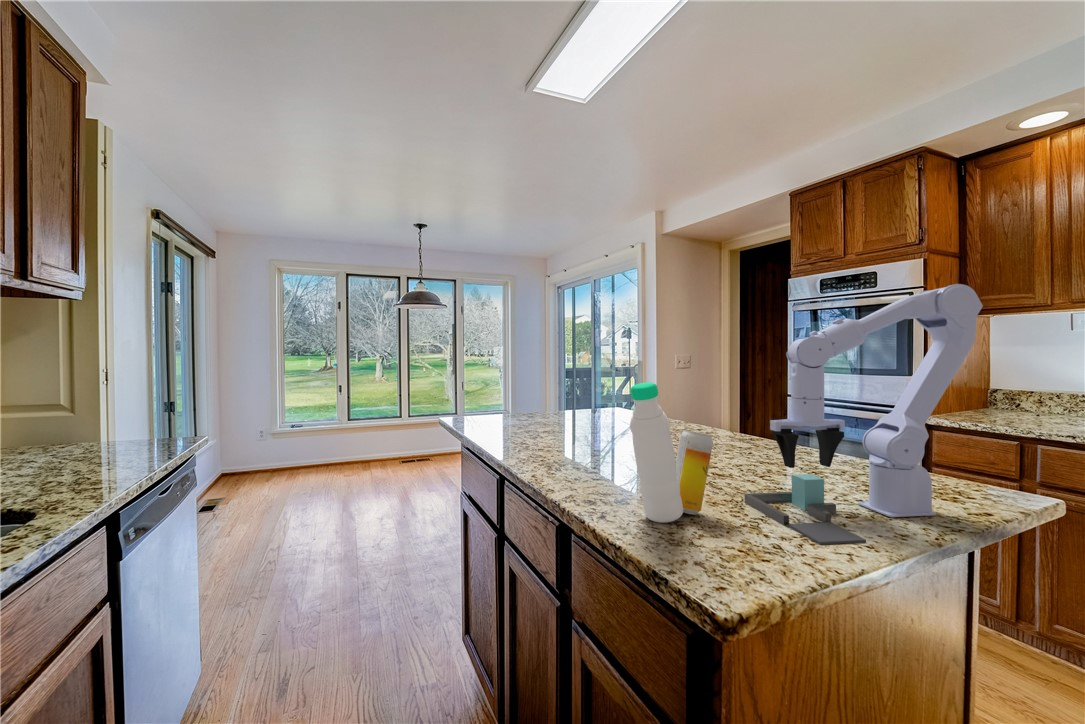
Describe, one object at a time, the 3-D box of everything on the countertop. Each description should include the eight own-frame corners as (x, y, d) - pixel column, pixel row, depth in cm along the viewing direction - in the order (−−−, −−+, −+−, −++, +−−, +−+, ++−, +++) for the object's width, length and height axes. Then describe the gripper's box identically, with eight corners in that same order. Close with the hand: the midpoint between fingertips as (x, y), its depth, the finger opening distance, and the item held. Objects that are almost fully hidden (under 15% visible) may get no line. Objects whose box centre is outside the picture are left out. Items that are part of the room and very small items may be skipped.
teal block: (810, 503, 94) (810, 474, 94) (824, 509, 90) (824, 479, 90) (791, 504, 93) (791, 474, 93) (804, 510, 89) (804, 479, 89)
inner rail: (832, 513, 88) (832, 502, 88) (854, 523, 83) (854, 512, 83) (805, 514, 88) (805, 503, 88) (825, 524, 82) (825, 513, 82)
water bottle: (672, 501, 90) (652, 377, 86) (691, 517, 83) (670, 383, 79) (638, 511, 88) (617, 386, 85) (655, 528, 81) (633, 392, 78)
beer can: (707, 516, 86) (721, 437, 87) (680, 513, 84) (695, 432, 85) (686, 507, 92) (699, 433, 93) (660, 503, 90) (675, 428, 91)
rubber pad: (830, 524, 82) (830, 522, 82) (866, 542, 74) (866, 539, 74) (787, 526, 81) (788, 524, 81) (819, 544, 73) (819, 542, 73)
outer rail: (804, 500, 96) (804, 491, 96) (854, 523, 83) (854, 512, 83) (743, 503, 95) (743, 493, 95) (783, 527, 82) (783, 515, 82)
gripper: (827, 396, 96) (827, 460, 96) (761, 396, 95) (761, 462, 95) (853, 399, 89) (853, 469, 89) (782, 400, 88) (782, 471, 88)
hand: (807, 466), depth 92 cm, fingers open, 7 cm apart
